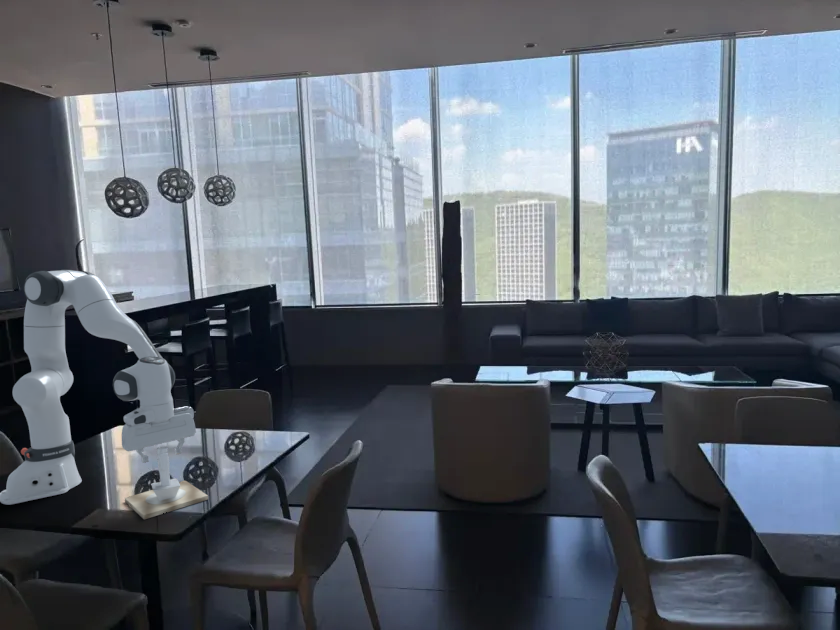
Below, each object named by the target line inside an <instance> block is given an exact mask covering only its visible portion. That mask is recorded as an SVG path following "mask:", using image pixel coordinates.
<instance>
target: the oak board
mask: <svg viewBox="0 0 840 630" xmlns="http://www.w3.org/2000/svg"><path fill="white" fill-rule="evenodd" d="M179 483H180V488H179V490H178V493H177V495H176V497H174V498H169V499H165V500H161V501H160V500H159V499H158V497H157V496H156V494H155V493H154V491H153V489H151V490H146V491H144V492H141V493H137V494H134V495H133V494H132V495H131V496H126V497H124V502H125V503H126V504H127V505H128V506H129V507H130V508H131V509H132V510H133V511H134V512H135V513H136V514H138V515H139V517H141V518H142V519H143V520H147V519H150V518H154V517H156V516H160V515H163V513H164V514H167V513H170V512H173V511H176V510H179V509H182V508H185V507H188V506H192V505H195V504H198V503H201V502H204V501H207V500H209V495H208V494H206V493H204V491H202V490H201V489H199V488H198V487H196V486H195V485H193V484H192V483H190V482H189V481H187V480H183V481H179ZM166 512H167V513H166Z"/></svg>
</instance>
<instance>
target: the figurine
mask: <svg viewBox="0 0 840 630" xmlns="http://www.w3.org/2000/svg"><path fill="white" fill-rule="evenodd" d="M156 456H157V467H158V473H159V478H160V479H159V480H160V481H158V482H153V483H150V485H151V488H152V490H153V491H154V493H155V494H156V496H157V497H158V499H159V500H160V501H161V500H165V499H169V498H174V497H176V495H177V493H178V490H179V488H180V483H179V482H180V481H179V480H178V478H177V477H176V478H171V476H170V457H169V448H168V447H167V446H160V447H156Z"/></svg>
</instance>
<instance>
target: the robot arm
mask: <svg viewBox="0 0 840 630" xmlns="http://www.w3.org/2000/svg"><path fill="white" fill-rule="evenodd" d="M25 278H26V279H25V280H24V284H23V292H24V296H25V298H26V303H25V309H24V314H23V315H24V317H23V350H24V353H26V355H27V357H28V360H29V363H30V367H31V369H30V370H31V371H30V372H28V373H26V374H24V375H23V376H21V377H20V378H19V379H18V380H17V381H16V383H14V385H13V387H12V397H13V400H14V402H16V403H17V405H19V406H20V407H21V410H22V411H23V414H24V416H25V419H26V422H27V426H28V430H29V431H28V432H29V440H30V446H31V447H29V448H27V447H22V449H21V450H20V453H21V455H23V456H24V461H23V462H22V463H21V464H20V465H18V467H17V468H15V469H14V470H13V471H12V472H11V473H10V474H9V475H8V477H7V481H6V487H5V488H6V489H3V490H2V491H1V492H0V503H1V504H3V505H10V506H11V505H15V504H20V503H25V502H28V501H33V500H38V499H43V498H47V497H52V496H57V495H61V494H65V493H67V492H68V491H69V490H71V489H73V488H75V487H76V486H78V485H80V484H81V483H82V481H83V480H82V478H81V475H80V473H79V471H78V467H77V465H76V461H75V455H76V452H75V451H76V450H75V444H74V440H72V435H71V425H70V419H69V418H70V417H69V416H68V414H66V413H65V411H64V407H63V406H62V403H61V396H64V395H65V394H67V392H69V390H70V389H71V387H72V385H73V383H74V375H73V372H72V371H71V369H70V367H69V362H68V357H67V353H66V319H65V318H66V317H65V313H66V311H67V308H68V307H69V306H73V308H74V310H75V313H76V315H77V317H78V320H79V321H80V323H81V325H82V327H83V328H84V330H85V331H87V332H88V333H89V334H91V335H92V336H95V337H98V338H102V339H109V340H115V341H118V342H121V343H124V344H126V345H127V346H129V347H130V348H131V349H132V351H133V352H134V354H135V355H136V357H137V358H138V360H137V362H136V363H135V364H134V365H131V366H130V367H126V368H125V369H122V370H119V371H118V372H117V373H116V374H115V375H114V377H113V380H112V388H113V389H112V390H113V393H114V394H115V395H116V397H117V398H118V399H120V401H121V400H122V401H123V402H130V401H137V400H139V407H138V408H136V409H134V410H132V411H131V412H129V413H127V414H125V415H124V416H123V422H124V423H125V424H124V425H123V426H122V429H121V447H122V448H123V450H125V451H126V452H133V451H136V452H137V454H138V455H139V456H140V458H141V463H142V464H145V463H149V462H150V460H149V456H148V455H147V454H144V449H145V448H149V447H154V446H157V445H162V444H166V443H169V442H174V441H177V442H178V443H177V447H174V448H173V449H174V454H175V455H180V454H182V453H183V452H182V448H183V446H184V443H185V439H188V438H191V437H194V436H195V435H196V433H197V430H196V429H197V428H196V424H195V421H194V417H195V411H194V409H193V407H191V406H188V405H187V406H185V405H184V406H182V407H176V408H174V407H175V406H174V399H173V396H172V393H171V392H172V391H171V390H172V388H173V387H174V384H175V381H176V372H175V370H174V369H173V367H172V366H171V365H170V364H169V363H168V361H167V360H166V359H165V358H163V356H162V355H161V353H160V352H159V351H158V350H157V348H156V346H155V345H154V344H153V342H152V340H151V339H150V338H149V337H148V335H147V333H146V332H145V331H144V330H143V328H142V327H141V326H140V324H138V322H136V320H134V319H133V318H130V317H129V316H128V315H127V314H126V313H125V312H124V311H123V310H122V309H121V308H120V306H119V305H118V304H117V302H116V300H115V298H114V296H113V294H112V293H111V291H110V290H109V288H108V286H107V285H106V284H105V283H104V281H103V280H102V279H101V278H100V277H99V276H97V275H95V274H94V273H92V272H89V271H85V270H72V269H61V270H50V271H47V270H39V271H35V272H32V273H30V274H29V275H28V276H27V277H25Z"/></svg>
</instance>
